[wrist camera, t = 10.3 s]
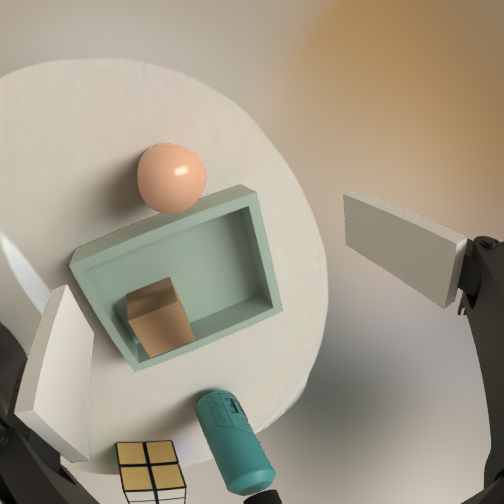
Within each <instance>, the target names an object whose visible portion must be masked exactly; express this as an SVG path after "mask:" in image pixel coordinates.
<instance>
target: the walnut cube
mask: <svg viewBox="0 0 504 504" xmlns="http://www.w3.org/2000/svg"><path fill="white" fill-rule="evenodd" d="M127 313H128V322H129V324H130V326H131V327H132V329H133V331H134V332H135V334H136V336H137V337H138V339H139V341H140V342H141V344H142V345H143V347H144V349H145V350H146V352H147V353H148V355H149V356H150V358H151V357H154V356H157V355H159V354H162V353H165V352H167V351H170V350H172V349H175V348H178V347H180V346H183V345H185V344H188V343H190V342H193V341H195V340H196V339H195V337H194V334H193V331H192V329H191V326H190V323H189V320H188V317H187V315H186V312H185V310H184V307H183V305H182V303H181V301H180V299H179V296H178V294H177V292H176V289H175V287H174V285H173V282H172V280H171V278H170V277H167V278H165V279H162V280H160V281H157V282H155V283H152V284H150V285H147V286H145V287H142V288H140V289H137V290H135V291H132V292H130V293H127Z"/></svg>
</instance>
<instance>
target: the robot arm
mask: <svg viewBox="0 0 504 504" xmlns="http://www.w3.org/2000/svg"><path fill="white" fill-rule="evenodd" d="M343 198H344V213H345V232H346V245H347V246H349V247H351V248H352V249H354V250H355V251H357V252H359V253H360V254H362V255H363V256H365V257H366V258H368V259H370V260H371V261H373V262H374V263H376V264H377V265H379V266H381V267H382V268H384V269H385V270H387V271H388V272H390V273H391V274H393V275H394V276H396V277H397V278H399V279H401V280H402V281H404V282H405V283H407V284H408V285H409V286H411V287H412V288H414V289H415V290H417V291H418V292H420V293H421V294H423V295H424V296H426V297H427V298H429V299H430V300H431V301H433V302H434V303H436V304H437V305H439V306H440V307H441V308H443V309H445V308H446V307H447V306H449V305H450V304H451V303H452V302H454V301H455V297H456V293H457V289H458V288H460V289H461V290H463V294H462V298H461V301H460V305H459V309H458V315H460V314H461V310H462V308H465V310H464V314H463V315H467V317H468V321H469V324H470V328H471V331H472V335H473V338H474V342H475V346H476V350H477V354H478V358H479V363H480V368H481V372H482V377H483V383H484V388H485V394H486V400H487V407H488V414H489V423H490V433H491V451H490V454H489V456H488V459H487V461H486V465H485V470H484V471H485V472H484V490H482V491H481V492H479V493H478V494H476V495H475V496H473V497H471V498H470V499H468V500H466V501H464V502H463V503H461V504H504V242H499V241H498V240H496V239H493V238H490V237H486V236H478V237H476V238H475V239H474V241H472V240H470V239H468V238H467V237H465V236H463V235H460V234H459V233H456V232H454V231H452V230H450V229H448V228H446V227H443V226H441V225H439V224H437V223H435V222H432V221H430V220H428V219H425V218H423V217H421V216H418V215H416V214H414V213H411V212H409V211H406V210H404V209H401V208H399V207H396V206H394V205H392V204H389V203H387V202H384V201H381V200H379V199H376V198H374V197H371V196H368V195H366V194H363V193H360V192H357V191H352V192H349V193H345V194H343ZM93 341H94V332H93V331H92V329H91V327H90V326H89V324H88V322H87V320H86V319H85V317H84V315H83V313H82V312H81V310H80V308H79V306H78V304H77V302H76V300H75V299H74V297H73V295H72V293H71V291H70V289H69V287H68V285H67V284H66V285H63V286H61V287H58V288H55V289H53V291H52V293H51V295H50V298H49V300H48V303H47V305H46V308H45V310H44V313H43V315H42V318H41V321H40V324H39V326H38V329H37V332H36V335H35V338H34V341H33V344H32V347H31V350H30V353H29V356H28V359H27V356H26V354H25V352H24V350H23V349H22V347H21V345H20V344H19V342H18V341H17V340H16V338H15V337H14V336H13V335H12V334H11V333H10V332H9V330H8V329H7V328H5V327H4V326H3V325H2V324H1V323H0V502H1V503H2V504H100V503H98V502H97V501H96V500H95V499H94V498H93V497H92V496H91V495H90V494H89V493H88V492H87V490H85V488H84V487H83V486H82V485H81V484H80V483H79V482H78V481H77V480H76V479H75V478H74V476H73V475H72V474H71V473H70V472H69V471H68V470H67V468H65V467H64V466H63V465H61V464H60V454H61V455H62V456H63V457H64V458H66V459H67V460H68V461H70V462H71V463H74V462H82V461H89V460H90V446H89V398H90V377H91V363H92V351H93Z"/></svg>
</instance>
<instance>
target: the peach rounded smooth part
mask: <svg viewBox="0 0 504 504" xmlns="http://www.w3.org/2000/svg"><path fill="white" fill-rule="evenodd" d="M137 179H138V189H139V192H140V195H141V197H142V199H143V200H144V201H145V203H146V204H147V205H148V206H149V207H151V208H152V209H154V210H156V211H158V212H161V213H165V214H174V213H179V212H182V211H185V210H187V209H188V208H190V207H191V206H193V205H194V204H195V203H196V202H197V201H198V199H199V198H200V196H201V195H202V193H203V190H204V187H205V182H206V173H205V169H204V166H203V164H202V162H201V160H200V159H199V157H198V156H197V155H196V154H195V153H193V152H192V151H190V150H189V149H187V148H184V147H181V146H177V145H173V144H170V143H159V144H155V145H153V146H151V147H149V148H148V149H147V150H146V151H145V152H144V153H143V154H142V156H141V157H140V159H139V162H138V166H137Z"/></svg>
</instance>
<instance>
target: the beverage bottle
mask: <svg viewBox="0 0 504 504" xmlns="http://www.w3.org/2000/svg"><path fill="white" fill-rule="evenodd" d="M195 412H197V415H198V418H199V422H200V424H201V426H200V427H202V430H203V432H204V434H203V435H204V436H205V437H206V438H205V439H207V442H208V443H207V444H209V447H210V449H211V451H212V453H213V456H214V458H215V461H216V463H217V465H218V468H219V470H220V472H221V475H222V477H223V479H224V482H225V484H226V487H227V490H228V491H230V492H232V493H235V494H238V495H242V496H246V495H251V494H254V493H257V494H255V495H253V496H251V497H249V498H247V499H246V500H245V501H244V504H282V502H281V499H280V497H279V495H278V492H277V490H267V491H263V492H260V491H262V490H264V489H266V488H267V487H269V486H270V485H271V484H272V482H273V480H274V478H275V475H276V472H275V470H274V469H273V467H272V466H271V464H270V462H269V461H268V459H267V457H266V455H265V453H264V452H263V450H262V448H261V445H260V444H259V442H258V440H257V438H256V436H255V434H254V432H253V431H252V430H253V429H252V428H251V426H250V424H249V423H248V421H247V420H248V419H246V418H247V417H245V416H246V415H245V413H244V411H243V410H242V408H241V406H240V404H239V402H238V401H237V399H236V398H235V396H234V395H233V394H232V393H230V392H228V391H215V392H211V393H208V394H206V395H204V396H203V397H202V398H200V399H199V401H198V402H197V404H196V410H195ZM211 451H210V452H211ZM258 492H260V493H258Z"/></svg>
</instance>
